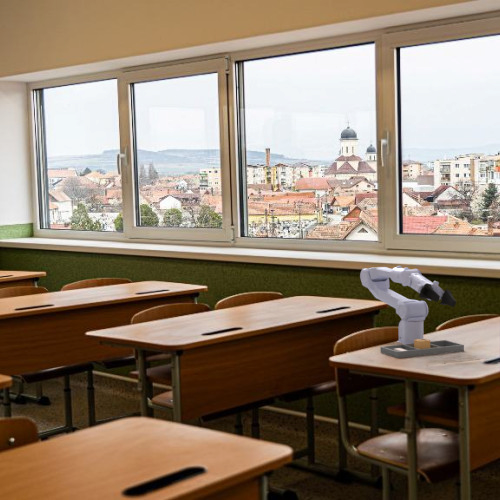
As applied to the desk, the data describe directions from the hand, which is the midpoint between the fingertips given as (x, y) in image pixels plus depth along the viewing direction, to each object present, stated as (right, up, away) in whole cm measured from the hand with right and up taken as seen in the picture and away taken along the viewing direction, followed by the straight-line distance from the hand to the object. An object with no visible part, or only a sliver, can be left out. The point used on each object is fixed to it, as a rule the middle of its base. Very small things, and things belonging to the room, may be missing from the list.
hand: (446, 301), depth 312 cm
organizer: (-8, -18, +3) cm, 20 cm away
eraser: (-16, -18, -1) cm, 24 cm away
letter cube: (-8, -17, +3) cm, 19 cm away
